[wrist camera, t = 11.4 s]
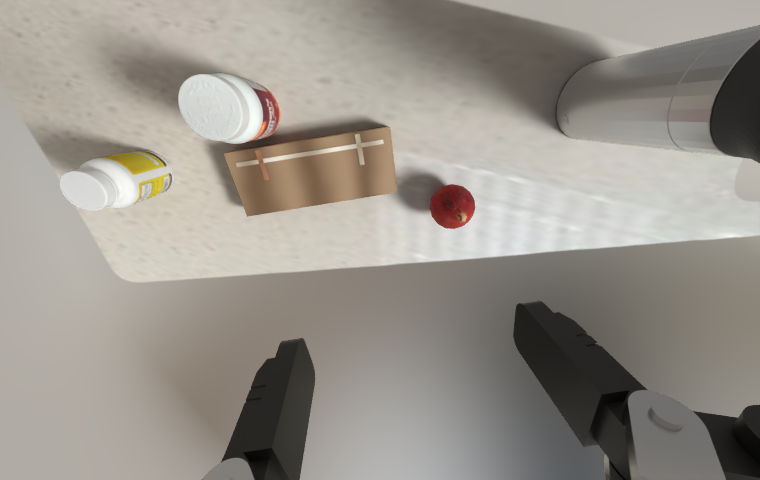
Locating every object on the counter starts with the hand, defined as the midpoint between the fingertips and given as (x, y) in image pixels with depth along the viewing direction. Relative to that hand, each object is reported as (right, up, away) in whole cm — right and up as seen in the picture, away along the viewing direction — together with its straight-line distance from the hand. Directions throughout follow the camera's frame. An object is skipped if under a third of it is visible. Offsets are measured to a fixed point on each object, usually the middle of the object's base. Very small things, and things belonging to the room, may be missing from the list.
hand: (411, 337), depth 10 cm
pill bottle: (-16, +19, +23) cm, 34 cm away
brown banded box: (-10, +13, +26) cm, 31 cm away
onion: (+8, +10, +30) cm, 32 cm away
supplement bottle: (-31, +13, +25) cm, 41 cm away
